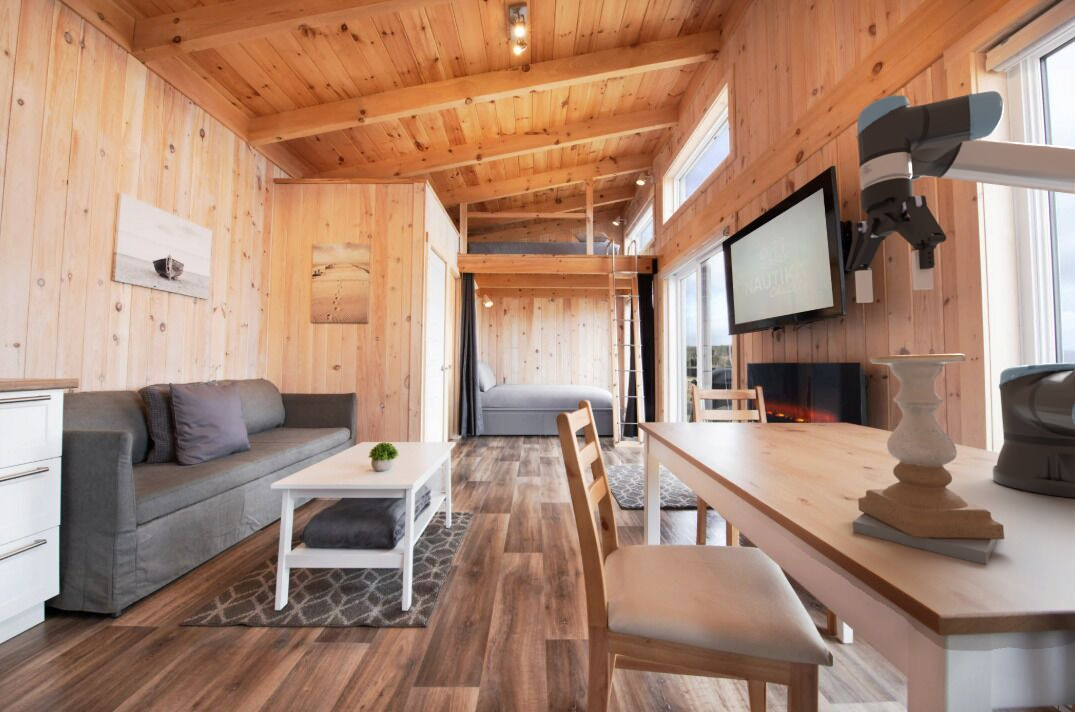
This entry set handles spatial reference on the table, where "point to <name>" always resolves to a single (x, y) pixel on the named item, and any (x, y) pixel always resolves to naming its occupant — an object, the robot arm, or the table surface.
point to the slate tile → (927, 540)
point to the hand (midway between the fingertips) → (891, 296)
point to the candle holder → (924, 462)
